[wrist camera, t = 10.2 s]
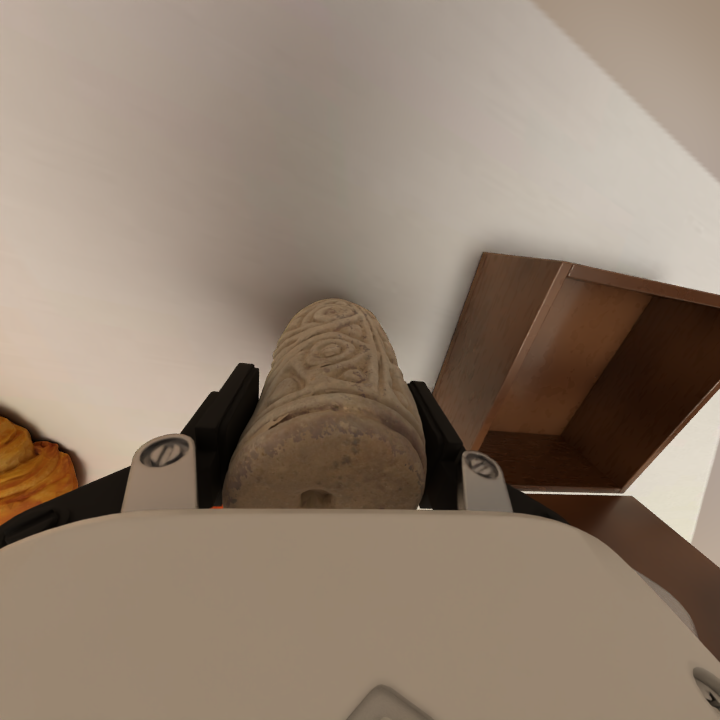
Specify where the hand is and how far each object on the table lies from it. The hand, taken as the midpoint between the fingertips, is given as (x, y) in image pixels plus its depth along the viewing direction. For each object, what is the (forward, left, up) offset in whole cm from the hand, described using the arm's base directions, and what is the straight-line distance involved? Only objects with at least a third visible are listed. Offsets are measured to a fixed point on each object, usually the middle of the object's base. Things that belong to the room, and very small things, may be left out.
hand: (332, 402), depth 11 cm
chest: (0, +17, -8) cm, 19 cm away
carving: (0, 0, -7) cm, 7 cm away
